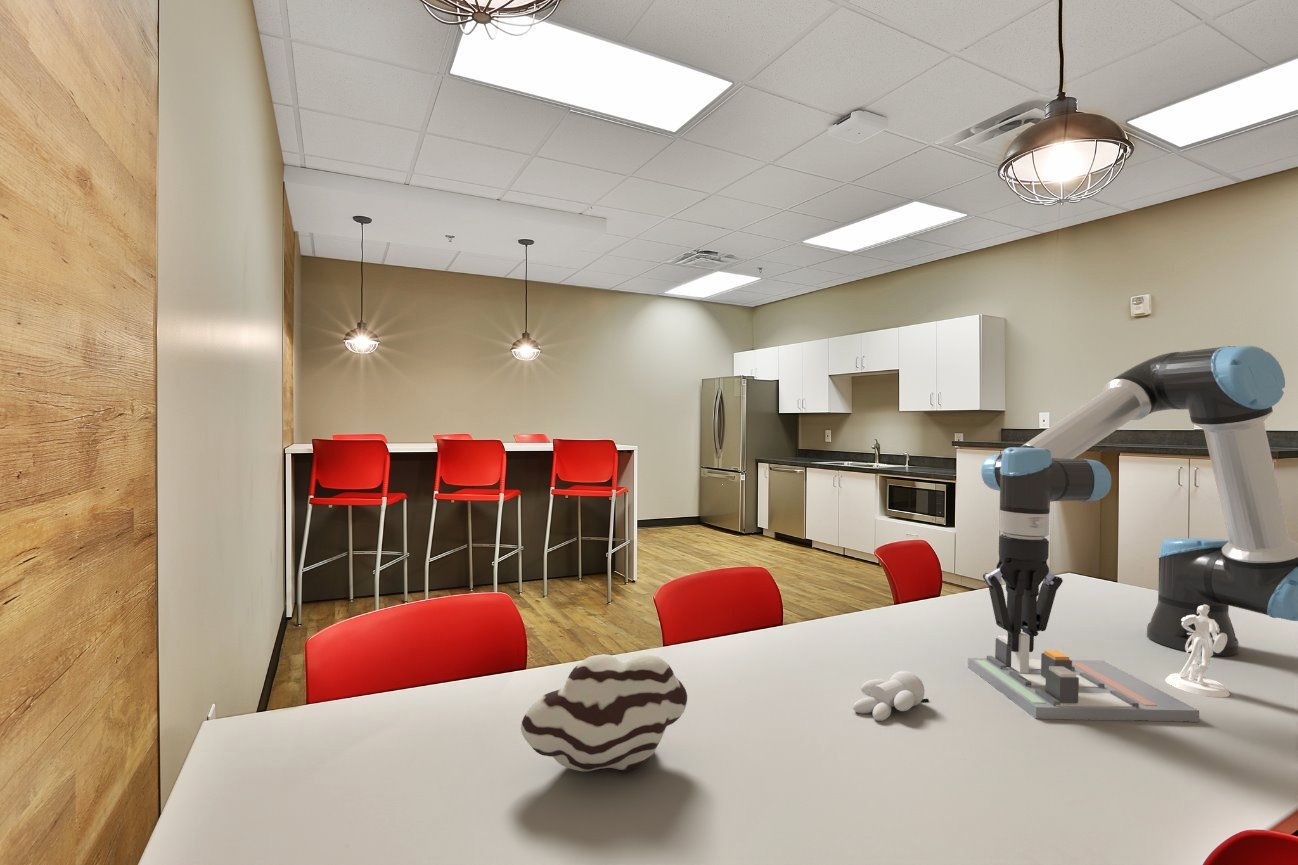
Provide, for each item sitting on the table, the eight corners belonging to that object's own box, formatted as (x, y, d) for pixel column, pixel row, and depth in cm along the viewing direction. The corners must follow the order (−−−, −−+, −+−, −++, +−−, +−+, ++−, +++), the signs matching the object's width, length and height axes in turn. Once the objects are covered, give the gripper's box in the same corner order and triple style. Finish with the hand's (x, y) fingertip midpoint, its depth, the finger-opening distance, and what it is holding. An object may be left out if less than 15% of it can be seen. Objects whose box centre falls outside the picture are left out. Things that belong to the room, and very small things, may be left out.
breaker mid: (1057, 675, 112) (1058, 650, 112) (1071, 684, 108) (1072, 657, 108) (1040, 675, 112) (1041, 649, 112) (1053, 683, 108) (1054, 657, 108)
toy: (884, 734, 95) (944, 708, 103) (884, 697, 95) (944, 674, 103) (840, 711, 102) (900, 689, 110) (840, 677, 102) (900, 657, 110)
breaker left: (1010, 659, 119) (1011, 635, 119) (1022, 666, 116) (1022, 641, 116) (995, 659, 119) (995, 635, 119) (1005, 666, 116) (1006, 641, 116)
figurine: (1242, 694, 111) (1245, 609, 111) (1208, 699, 108) (1211, 613, 108) (1186, 674, 119) (1188, 596, 119) (1153, 679, 116) (1156, 599, 116)
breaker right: (1063, 693, 104) (1064, 665, 104) (1078, 702, 101) (1079, 674, 101) (1045, 692, 104) (1046, 665, 104) (1059, 702, 101) (1060, 674, 101)
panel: (1102, 669, 121) (1103, 656, 121) (1198, 721, 100) (1199, 706, 100) (967, 667, 120) (968, 654, 120) (1035, 718, 99) (1036, 702, 99)
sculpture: (673, 736, 91) (675, 633, 91) (704, 783, 79) (707, 666, 79) (516, 755, 85) (518, 646, 85) (524, 810, 73) (526, 683, 73)
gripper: (998, 538, 106) (994, 677, 106) (1075, 540, 106) (1071, 679, 106) (975, 531, 113) (971, 660, 114) (1047, 532, 113) (1043, 662, 114)
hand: (1019, 669), depth 110 cm, fingers closed
